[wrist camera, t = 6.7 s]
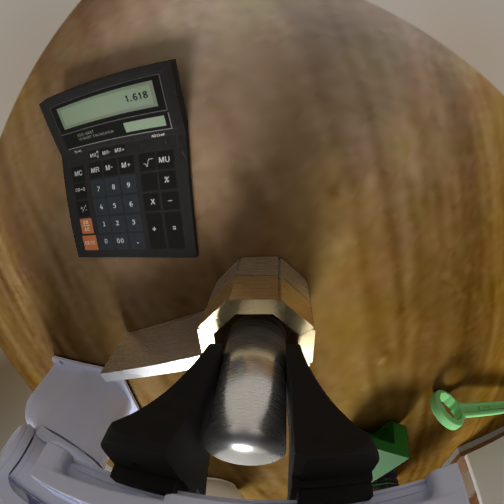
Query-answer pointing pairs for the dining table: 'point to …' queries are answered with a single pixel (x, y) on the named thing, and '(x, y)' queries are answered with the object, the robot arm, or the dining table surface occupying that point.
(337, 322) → the dining table surface
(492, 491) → the grey boxy piece
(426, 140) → the dining table surface
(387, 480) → the storage jar
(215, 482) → the lidded jar
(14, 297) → the dining table surface
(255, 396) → the hinge pin
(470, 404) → the wrench
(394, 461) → the clamp
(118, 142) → the calculator
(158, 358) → the tan ring with arms
